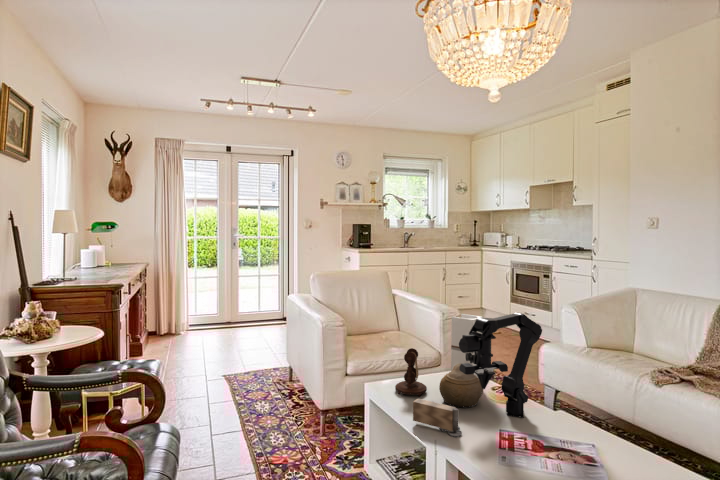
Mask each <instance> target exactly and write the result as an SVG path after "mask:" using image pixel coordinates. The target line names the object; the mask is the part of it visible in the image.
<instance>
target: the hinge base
mask: <svg viewBox="0 0 720 480" xmlns="http://www.w3.org/2000/svg"><path fill="white" fill-rule="evenodd" d="M447 434H448V436H450V437H453V438H460V437H462V436H463V432H462V430H461V429H460V430H458V431H454V430H452V431H450V430H448V431H447Z"/></svg>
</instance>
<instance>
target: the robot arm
mask: <svg viewBox="0 0 720 480" xmlns="http://www.w3.org/2000/svg"><path fill="white" fill-rule="evenodd" d="M515 325H516V327H517V328H518V329H519V338H520V343H519V346H518V347H517V348H518V349H517V352H516V355H515V358H514V361H513V364H512V367H511V371H510V373H509V374H508V375H503V378H502V381H501V383H500V385H501V390H502V393H503V396H504V397H505V398H507V400H505V401H506V402H505V413H506V416H508V417H509V416H510V417H517V418H522V419H523V418H524V417H525V416H524V415H525V410H524V404H526V403H527V402H528V401H529V396H528V395H527V394H526V392H525V391H524V388H525V384H524V383H525V382H524V375H525V371H526V369H527V366H528V362H529V358H530V355H531V353H532V350H533V346H534V345H535V344H536V343H537V342H538V341H539V339H540V337H541V335H542V333H543V328H542V326H541V325H540V324H539V323H536V321H534V320H532V319H531V318H529V317H528V316H527V315H526V314H524V313H522V312H517V311H516V312H514V313H510V314H506V315H501V316H498V317H493V318H492V317H483V318H478V319H476V321H475V323H474V325H473V327H472V329H471V330H470V332H469V335H462V338H461V339H460V342H459V348H460V350H461V351H462V352H463V353H466V356H465V358H466V361H470V363H473V364H476V365H475V366H473V365H471V364H469V363H464V364H461V365H460V368H459V370H460V371H461V372H463V373H464V374H467V375H469V374H474V373H476V374H477V376H478V378H479V381H480V384H481V387H482V389H483V390H486V388H487V385H488V384H489V383H490V380H491V379H492V377H493V376H494V375H496V372H494V370H499V371H500V372H501V373H504V372H505V373H506V372H508V370H509V366H508V365H507V363H505V362H504V361H501V360H496V361H495V360H493V361H492V358H493V357H494V354H493V353H492V340H495V339H497V337H496V336H495V335H494V333H497V332H498V330H499V329H500V330H501V329H503V328H507V327H511V326H515ZM478 332H480V333H478ZM481 333H482V334H481ZM468 352H475V354H474V355H472V354H471V353H468Z"/></svg>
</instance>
